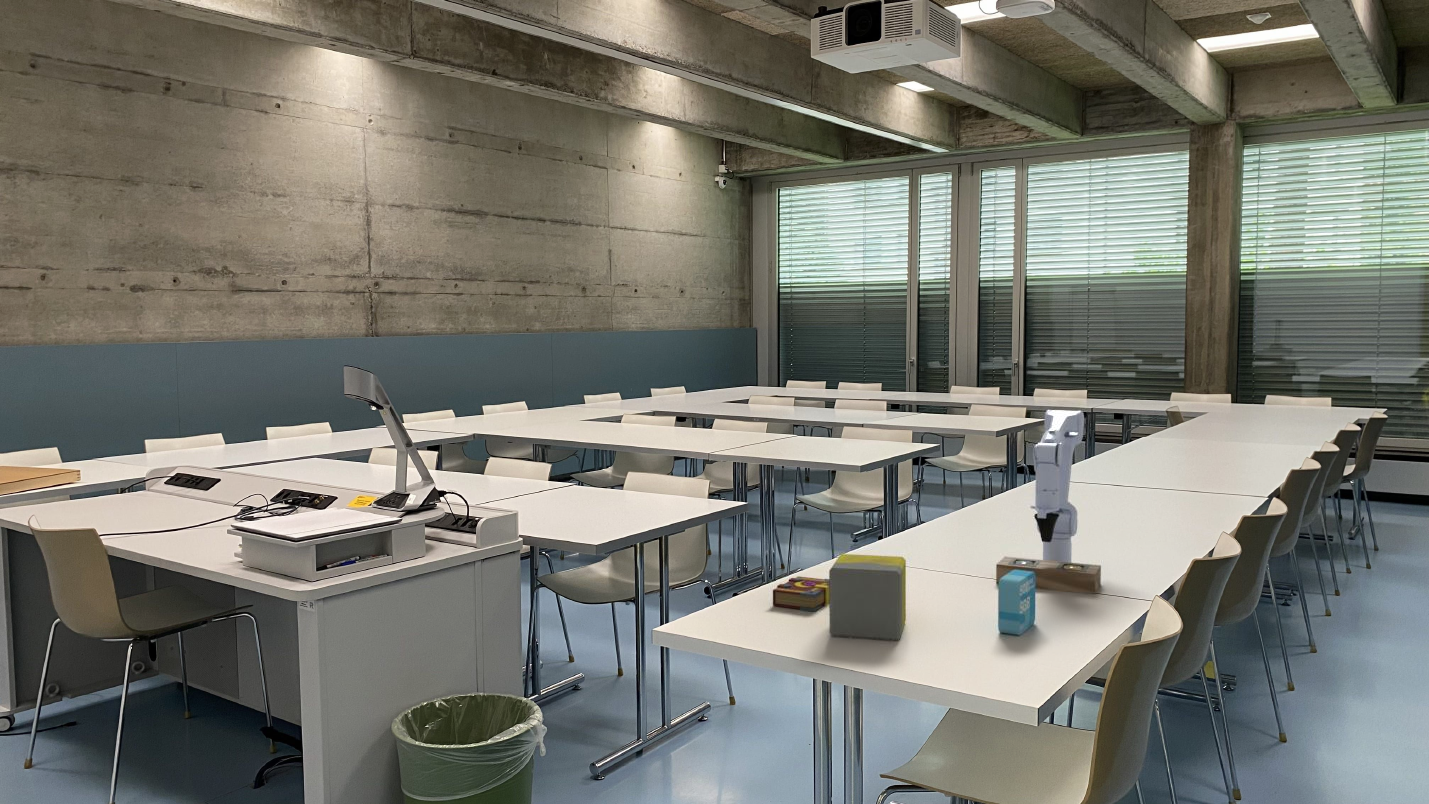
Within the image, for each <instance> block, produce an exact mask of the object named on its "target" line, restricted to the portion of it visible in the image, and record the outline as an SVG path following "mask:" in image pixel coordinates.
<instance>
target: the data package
mask: <svg viewBox="0 0 1429 804" xmlns="http://www.w3.org/2000/svg"><path fill="white" fill-rule="evenodd" d="M1035 585H1036V576H1035V573H1034V572H1032V571H1023V570H1013V571H1011V572H1010V573H1008V574H1007V575H1005V576H1003V577H1002V578H1001V579H1000V580H999V584H998V588H997V590H998V591H997V593H998V595H997V598H998V600H997V601H998V605H997V606H998V607H997V609H998V610H997V628H998V632H999V633H1001V634H1008V635H1014V636H1021V635H1022V634H1023V633H1025V632H1026V631H1028V630H1029V628H1031V627H1032V626H1033V625H1034V624H1035V621H1036V588H1035Z"/></svg>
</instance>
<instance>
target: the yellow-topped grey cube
mask: <svg viewBox="0 0 1429 804" xmlns="http://www.w3.org/2000/svg"><path fill="white" fill-rule="evenodd" d="M906 561H907V560H906V558H904V557H903V556H897V555H896V556H892V555H875V554H873V555H870V554H848V553H841V554H840V555H839V556H838V557H837V559H836V560H835V562H834V563H833V565H832V566H831V568H830V569H829V571H828V572H829V573H828V576H829V577H828V579H829V604H828V605H829V613H828V614H829V634H830V635H831V636H832V637H834V636H836V637H837V636H839V637H837V638H849V637H852V639H853V638H854V639H863V638H864V639H865V640H880V641H881V640H882V641H893V642H896V641H899V640H900V638H901V635H902V632H903V629H904V628H905V627H904V626H905V623H906V619H907V618H906V616H907V615H906V614H907V613H906V612H907V609H906V608H907V607H906V606H907V605H906V602H907V595H906V594H907V591H906V589H907V588H906V587H907V586H906V585H907V583H906V581H907V580H906V579H907V578H906V577H907V574H906V573H907V571H906V565H907V562H906Z"/></svg>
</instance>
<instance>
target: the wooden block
mask: <svg viewBox="0 0 1429 804" xmlns="http://www.w3.org/2000/svg"><path fill="white" fill-rule="evenodd" d="M1016 561H1030V562H1032V563H1033V565H1025V564H1016ZM1067 565H1074V566H1080V567H1082V570H1076V569H1066V568H1064V566H1067ZM995 569H996V571H995V572H996V573H995V583H996V584H998V585H999V580H1000V579H1001V578H1002V577H1003V576H1005V575H1007V574H1008V573H1010V572H1011V571H1013V570H1023V571H1032V572H1034V573H1035V576H1036V585H1035V589H1043V590H1054V591H1064V592H1073V593H1082V594H1090V595H1092V594H1093V595H1096V593H1097V591H1098V590H1099V588H1100V587H1101V586H1102V583H1101V582H1102V581H1101V578H1102V565H1099V564H1089V563H1079V562H1071V563H1069V562H1059V561H1048V560H1043V559H1035V558H1027V557H1025V558H1024V557H1015V556H1014V557H1013V556H1004V557H1003V558H1002V559H1001V560H1000V561H998V562H997V563H996V567H995Z"/></svg>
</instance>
